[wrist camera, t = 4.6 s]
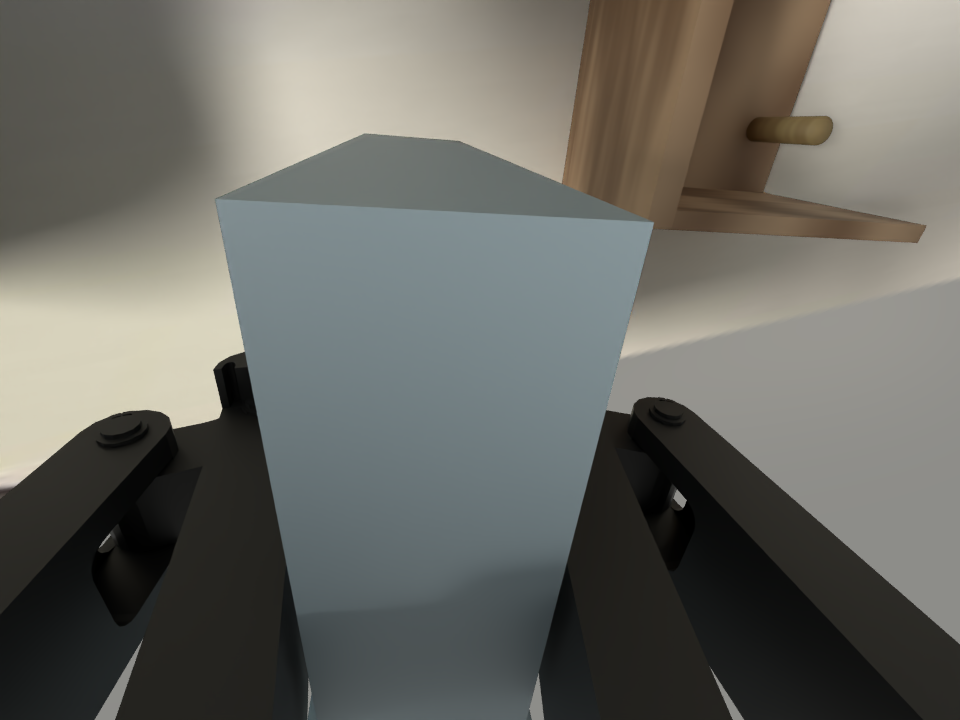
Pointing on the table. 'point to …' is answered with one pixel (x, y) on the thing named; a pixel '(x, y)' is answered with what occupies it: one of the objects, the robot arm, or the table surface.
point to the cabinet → (703, 117)
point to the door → (427, 409)
